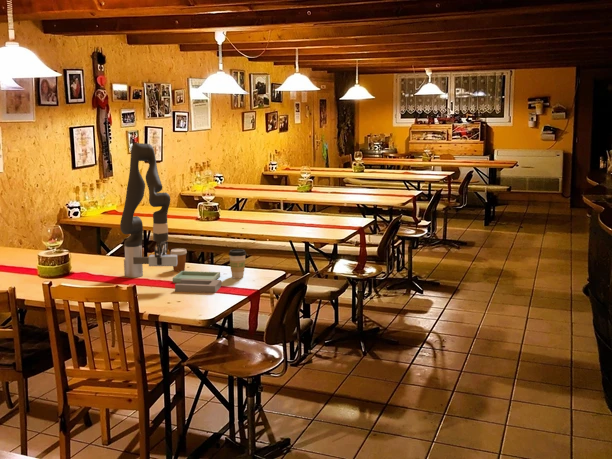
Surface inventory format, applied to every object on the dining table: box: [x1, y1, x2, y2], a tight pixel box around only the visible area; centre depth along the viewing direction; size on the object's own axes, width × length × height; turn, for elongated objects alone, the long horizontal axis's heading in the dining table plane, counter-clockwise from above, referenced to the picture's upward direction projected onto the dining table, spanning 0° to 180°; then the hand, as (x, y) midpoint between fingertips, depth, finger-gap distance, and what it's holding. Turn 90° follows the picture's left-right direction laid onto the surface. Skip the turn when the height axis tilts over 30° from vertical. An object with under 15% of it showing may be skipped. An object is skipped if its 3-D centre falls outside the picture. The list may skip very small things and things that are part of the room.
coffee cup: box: [228, 248, 247, 280], centre depth 346 cm, size 10×10×15 cm
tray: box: [172, 270, 221, 284], centre depth 342 cm, size 22×16×2 cm
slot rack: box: [174, 279, 222, 294], centre depth 323 cm, size 21×12×4 cm, turn 84°
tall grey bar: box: [133, 254, 178, 267], centre depth 323 cm, size 22×5×5 cm, turn 96°
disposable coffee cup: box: [169, 248, 188, 273], centre depth 361 cm, size 10×10×12 cm
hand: (161, 263), depth 323 cm, fingers closed on tall grey bar, 5 cm apart
